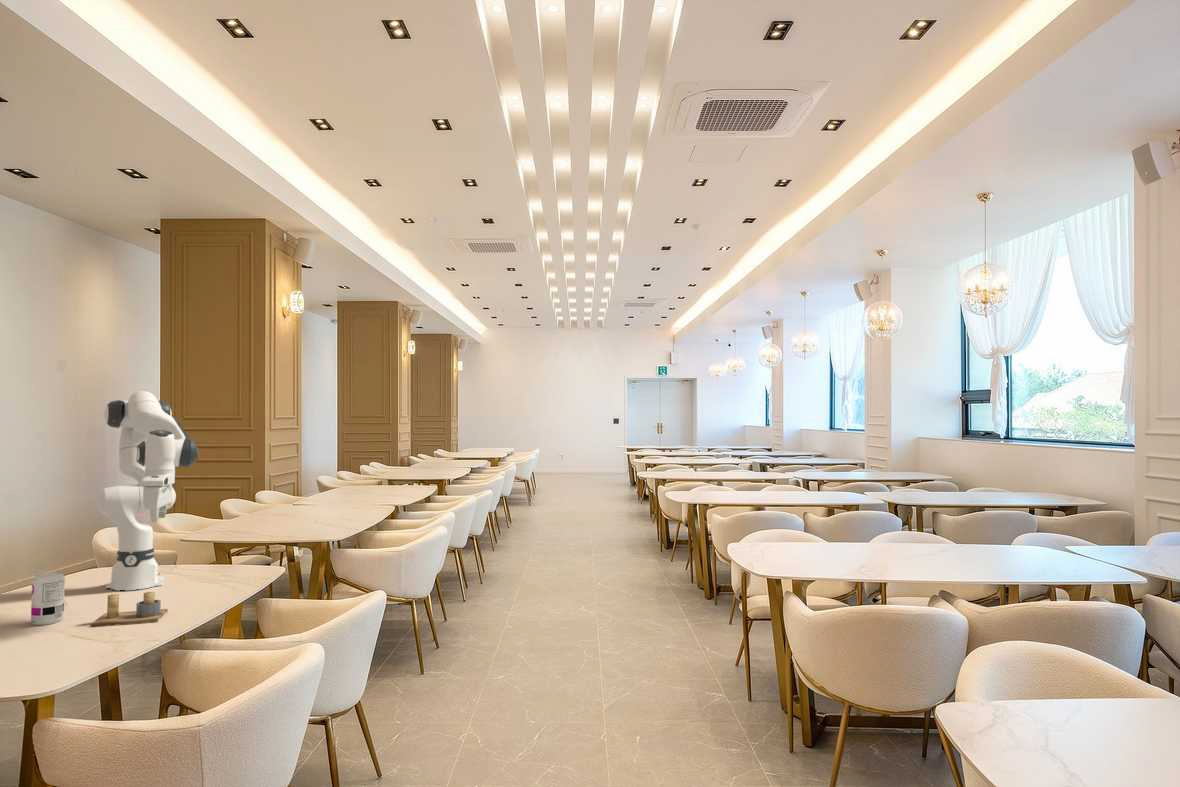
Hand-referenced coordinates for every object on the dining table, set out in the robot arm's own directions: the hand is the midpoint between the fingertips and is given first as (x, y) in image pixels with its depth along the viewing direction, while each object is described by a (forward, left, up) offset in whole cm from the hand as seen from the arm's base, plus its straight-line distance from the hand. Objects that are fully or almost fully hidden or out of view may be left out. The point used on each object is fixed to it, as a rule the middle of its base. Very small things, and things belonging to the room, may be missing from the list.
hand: (158, 519), depth 237 cm
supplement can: (+5, -29, -31) cm, 42 cm away
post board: (+9, -5, -30) cm, 32 cm away
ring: (+9, 0, -29) cm, 31 cm away
